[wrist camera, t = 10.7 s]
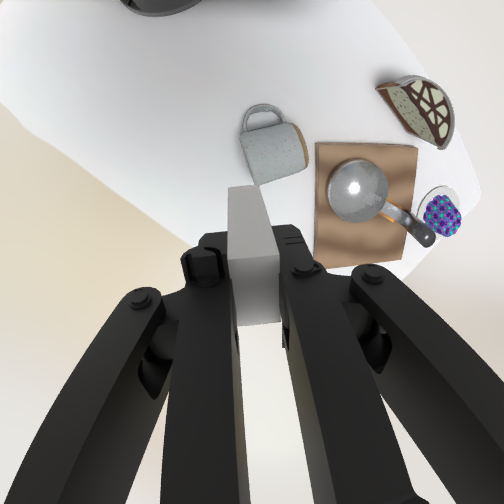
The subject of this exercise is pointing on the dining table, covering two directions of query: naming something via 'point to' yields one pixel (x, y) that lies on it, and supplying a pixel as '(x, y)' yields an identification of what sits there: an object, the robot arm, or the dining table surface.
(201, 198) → the dining table surface
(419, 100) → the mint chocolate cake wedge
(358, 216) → the steel serving spoon
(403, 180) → the wooden cutting board
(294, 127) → the ceramic mug
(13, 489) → the robot arm
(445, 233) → the pudding
